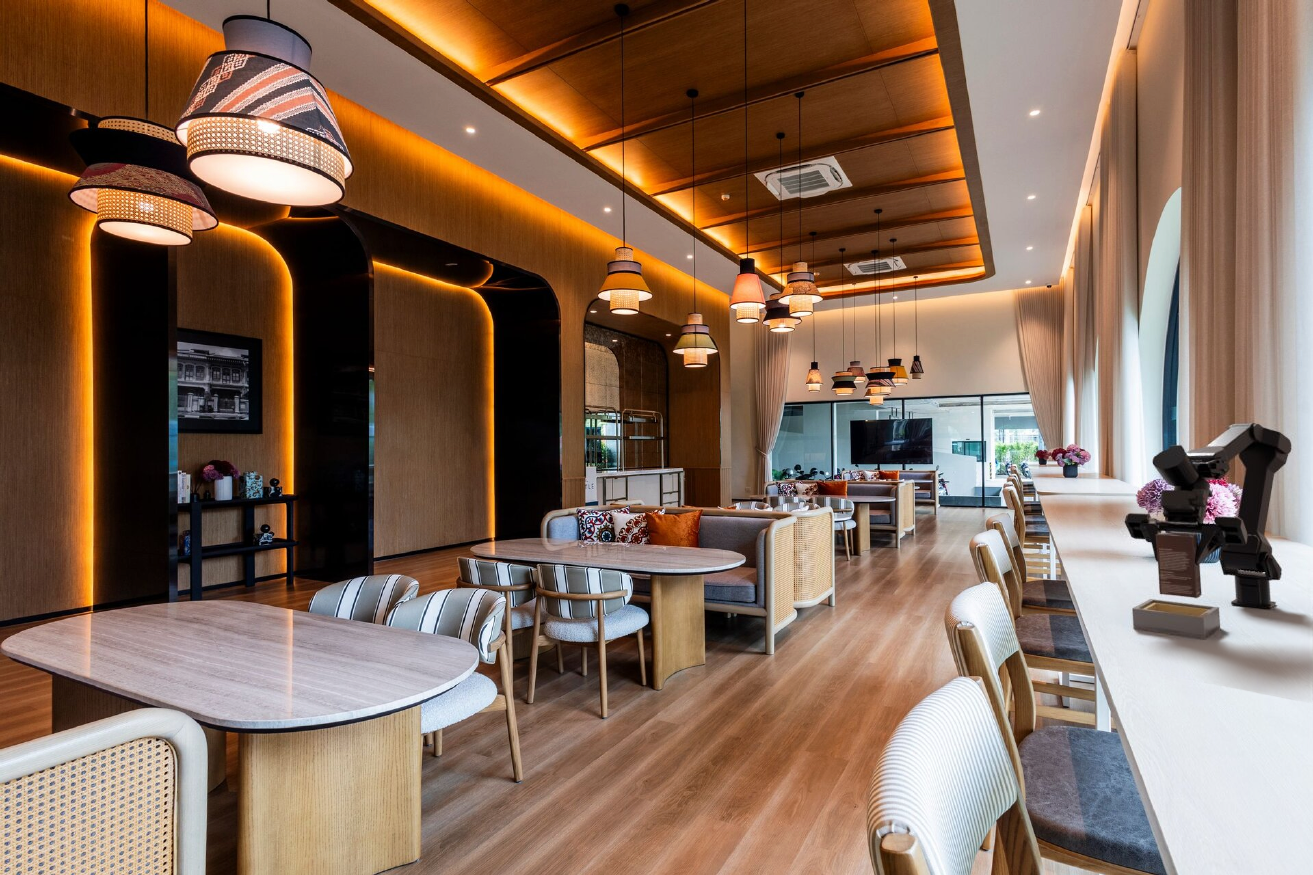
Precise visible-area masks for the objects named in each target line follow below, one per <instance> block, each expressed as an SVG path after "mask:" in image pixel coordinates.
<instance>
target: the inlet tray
mask: <svg viewBox="0 0 1313 875" xmlns="http://www.w3.org/2000/svg"><path fill="white" fill-rule="evenodd" d="M1220 617H1221V616H1220V607H1219V606H1212V605H1211V606H1210V605H1202V604H1194V603H1187V602H1178V601H1169V600H1162V599H1153V598H1150V599H1148V600H1146V601H1144V602H1141V603H1140V604H1139V605H1136V606H1134V607H1132V624H1133V625H1132V626H1133V628H1132V629H1134V630H1142V631H1148V632H1153V633H1161V634H1165V635H1175V636H1180V637H1187V638H1192V639H1200V640H1206V639H1207V638H1209V637H1210V636H1211V635H1213V634H1214V633H1215V632H1217V631H1218V630H1219V629H1221V618H1220Z"/></svg>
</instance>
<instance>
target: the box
mask: <svg viewBox="0 0 1313 875" xmlns="http://www.w3.org/2000/svg"><path fill="white" fill-rule="evenodd" d="M1156 543H1157V558H1158V562H1157V566H1158V567H1157V569H1158V570H1157V571H1158V586H1159V595H1165V596H1177V597H1184V598H1194V599H1198V598H1200V597H1201V596H1202V583H1201V582H1202V581H1201V566H1200V565H1201V563H1200V564H1199V565H1196V564H1195V555H1196V552H1197V548H1198V545H1199V534H1187V533H1171V532H1170V533H1169V532H1161V533H1159V534H1156Z"/></svg>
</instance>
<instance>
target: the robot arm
mask: <svg viewBox="0 0 1313 875" xmlns="http://www.w3.org/2000/svg"><path fill="white" fill-rule="evenodd" d="M1291 451H1292V442H1291V439H1290V438H1288V437H1287V436H1286V435H1285V434H1283V433H1282V432H1280V431H1278V430H1273V429H1270V428H1267V427H1263V426H1262V425H1261V424H1260V423H1255V422H1245V423H1233V424H1230V425H1229V426H1228V427H1227V430H1226V431H1224V432H1223V433H1222V434H1220V435H1219V436H1217V437H1216V438H1215V439H1214V440H1212V442H1210V443H1209V444H1207V445H1206V446H1204V447H1200V448H1195V449H1191V450H1188V451H1186V450H1185V448H1184V447H1183V445H1181V444H1174V445H1173V444H1171V445H1170V446H1169V448H1167V449H1164V450H1162V451H1160V452H1159V453H1158V454H1156V455H1155V456H1154V457H1153V458H1152V465H1153V467H1154V468H1155V469H1156V471H1157V472H1158V473H1159V475H1160V476H1161V477H1162V479H1163V480H1164V481H1165V483H1166V484H1167V485H1169V486H1171V487H1174V488H1173V489H1172V490H1171V489H1163V490H1161V493H1160V504H1159V506H1160V508H1163V510H1162V516H1163V517H1164V518H1166V520H1162V519H1161V520H1160V519H1157V518H1154V517H1152V516H1151V514H1150V513H1142V512H1141V513H1139V512H1135V513H1134V512H1130V513H1127V515H1126V516H1125V519H1124V524H1125V526H1126V529H1127V531H1128V533H1129V535H1130V537H1131V538H1133V539H1135V540H1145V541H1146V542H1147V543H1151V546H1152V550H1153V555H1154V560H1155V562H1156V563H1158V558H1157V543H1156V534H1159V533H1162V532H1170V533H1177V534H1197V535H1200V539H1199V541H1198V548H1197V552H1196V555H1195V564H1196V565H1199V564H1200V565H1201V564H1202V563H1203V561H1205V559H1207V558H1208V557H1209V556H1210V555H1211V554H1212V555H1213V553H1215V552H1216V551H1218V550H1219V552H1218V559H1219V563H1220V567H1221V571H1222V574H1223V575H1224V576H1233V577H1234V588H1235V591H1234V592H1235V599H1233V600H1232V601H1231V602H1230V604H1231V605H1232V606H1233V605H1235V606H1243V607H1250V608H1251V607H1252V608H1260V609H1269V610H1270V609H1271V608H1273V607H1274V606H1275V605H1276V604H1277V602H1276V601H1272V599H1271V588H1270V587H1271V586H1270V584H1271V582H1270V581H1281V579H1282V575H1283V574H1282V570H1283V569H1282V567H1281V566H1280V564H1279V563H1278V560H1276V558H1275V556H1274V555H1273V547H1272V546H1271V544H1270V542H1269V540H1268V539H1267V537H1266V534H1265V533H1266V528H1267V520H1268V515H1269V508H1270V502H1271V497H1272V491H1273V490H1272V489H1273V486H1274V485H1273V484H1274V477H1275V474H1276V473H1277V472H1278V471H1279V470H1280V469H1281V468H1282V467H1283V466H1285V465H1286V464H1287V460H1288V457H1289V454H1290V453H1291ZM1237 456H1238V458H1239V460H1240V461H1241V463H1242V465H1243V466H1244V467H1245V471H1244V472H1245V473H1244V477H1243V485H1242V490H1241V497H1240V502H1239V507H1238V513H1237V516H1219V515H1217V516H1215V517H1214V519H1213V520H1214V521H1213V522H1214V523H1206V522H1205V523H1204V521H1205V519H1206V518H1207V512H1206V510H1207V504H1208V499H1209V498H1213V495H1214V494H1213V492H1212V490H1211V484H1210V482H1209V481H1208V480H1216V481H1217V480H1222V479H1223V478H1224V477H1225V476H1226V475H1227V473H1228V472H1229V471H1230V470H1231V467H1230V461H1232V460H1233V459H1234V458H1235V457H1237Z"/></svg>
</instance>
